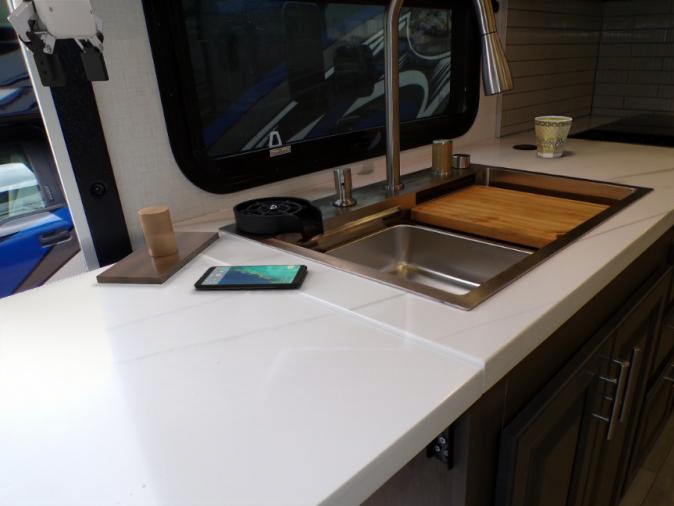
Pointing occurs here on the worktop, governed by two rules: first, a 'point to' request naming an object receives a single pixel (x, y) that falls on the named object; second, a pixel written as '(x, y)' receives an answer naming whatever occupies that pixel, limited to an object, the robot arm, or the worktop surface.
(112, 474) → the worktop surface
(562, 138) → the ceramic cup
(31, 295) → the worktop surface
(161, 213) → the wooden cylinder
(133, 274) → the walnut board
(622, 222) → the worktop surface
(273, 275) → the smartphone
